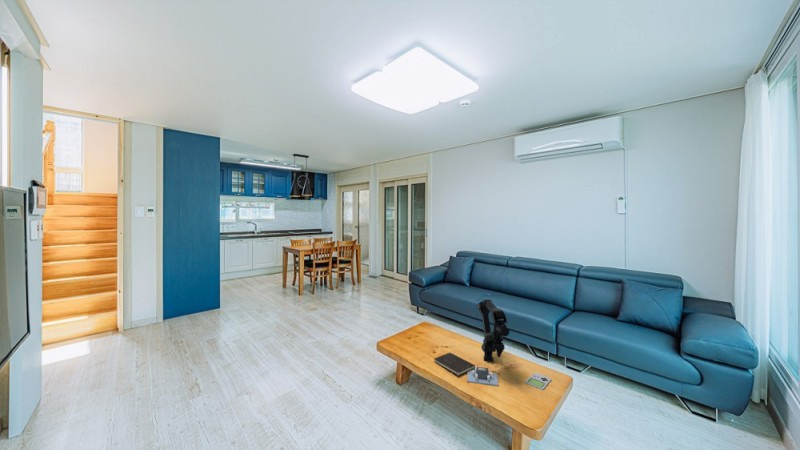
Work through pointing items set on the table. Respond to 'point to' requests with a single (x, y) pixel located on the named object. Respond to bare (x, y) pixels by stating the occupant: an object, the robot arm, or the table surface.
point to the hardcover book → (454, 364)
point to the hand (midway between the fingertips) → (497, 353)
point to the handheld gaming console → (538, 381)
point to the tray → (490, 380)
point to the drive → (482, 372)
